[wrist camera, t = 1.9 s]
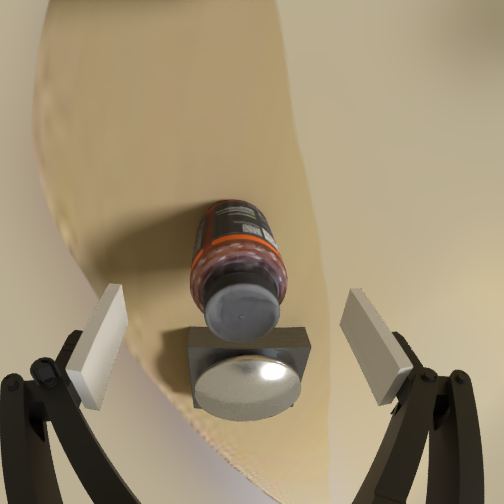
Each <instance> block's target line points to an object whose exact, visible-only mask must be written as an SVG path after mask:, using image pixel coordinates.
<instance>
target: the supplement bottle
mask: <svg viewBox="0 0 504 504" xmlns="http://www.w3.org/2000/svg"><path fill="white" fill-rule="evenodd" d="M190 290H191V294H192V297H193V300H194V302H195V304H196V305H197V307H198V308H199V309H200V311H201V312H202V313H203V314H204V318H205V321H206V324H207V326H208V328H209V329H210V331H212V333H213V334H215V335H216V336H217V337H219V338H221V339H223V340H226V341H229V342H234V343H248V342H252V341H256V340H258V339H261V338H262V337H264V336H266V335H267V334H268V333H269V332H271V331H272V330H273V329H274V327H275V326H276V324H277V323H278V320H279V317H280V304H281V303H282V301H283V299H284V297H285V293H286V290H287V273H286V269H285V266H284V264H283V261H282V258H281V256H280V253H279V251H278V248H277V245H276V243H275V240H274V238H273V235H272V233H271V230H270V227H269V225H268V222H267V221H266V218H265V217H264V215H263V214H262V212H261V211H260V210H259V209H258V208H257V207H255V206H254V205H252V204H250V203H248V202H245V201H242V200H226V201H222V202H220V203H217V204H216V205H214V206H212V207H211V208H210V209H209V210H208V211H207V212H206V213H205V214H204V215H203V217H202V219H201V221H200V224H199V227H198V231H197V237H196V242H195V248H194V254H193V260H192V266H191V274H190Z"/></svg>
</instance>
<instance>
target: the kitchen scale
mask: <svg viewBox="0 0 504 504" xmlns="http://www.w3.org/2000/svg"><path fill="white" fill-rule="evenodd" d="M187 348H188V359H189V369H190V378H191V388H192V396H193V404H194V408H200V409H203V410H205V411H206V412H208V413H209V414H211V415H213V416H216V417H219V418H222V419H226V420H231V421H255V420H261V419H265V418H269V417H272V416H275V415H277V414H279V413H281V412H283V411H285V410H286V409H288V408H289V407H293V405H294V402H295V401H296V400H297V398H298V397H299V395H300V391H301V384H300V383H301V380H302V377H303V373H304V370H305V367H306V363H307V360H308V357H309V353H310V350H311V344H310V341H309V338H308V335H307V332H306V329H305V327H299V328H274V329H273V330H272V331H271V332H269V333H268V334H267V335H266V336H264V337H262V338H261V339H258V340H256V341H252V342H248V343H234V342H229V341H226V340H223V339H221V338H219V337H217V336H216V335H215V334H213V333H212V331H210V329H209V328H208V327H190V329H189V338H188V347H187Z"/></svg>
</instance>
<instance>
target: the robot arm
mask: <svg viewBox="0 0 504 504" xmlns="http://www.w3.org/2000/svg"><path fill="white" fill-rule="evenodd" d="M128 323H129V322H128V318H127V312H126V307H125V302H124V296H123V290H122V284H112V283H109V285H108V286H107V288H106V290H105V292H104V293H103V295H102V297H101V299H100V301H99V302H98V305H97V306H96V308H95V310H94V312H93V314H92V316H91V317H90V319H89V321H88V323H87V325H86V327H85V329H84V331H79V330H74V331H73V332H72V333H71V334H70V335H69V336H68V337H67V339H66V341H65V343H64V345H63V347H62V349H61V351H60V353H59V355H58V356H57V358H56V360H55V361H54V360H53V359H51V358H47V357H44V358H39V359H38V360H36V361H35V362H34V363H33V364H32V365H31V368H30V373H31V375H32V377H33V379H34V380H30V381H24V380H23V378H22V377H21V376H20V375H18V374H16V373H14V374H13V373H12V374H9V375H7V376H6V377H4V379H3V380H2V382H1V390H0V441H1V457H2V467H3V476H4V482H5V489H6V495H7V501H8V504H63V501H62V498H61V494H60V490H59V486H58V483H57V478H56V474H55V470H54V465H53V460H52V456H51V450H50V445H49V438H48V431H47V424H46V421H51V422H52V425H53V427H54V430H55V432H56V434H57V436H58V439H59V441H60V443H61V445H62V447H63V449H64V451H65V453H66V455H67V457H68V459H69V461H70V463H71V465H72V467H73V469H74V470H75V472H76V474H77V476H78V478H79V479H80V481H81V483H82V485H83V486H84V488H85V490H86V491H87V493H88V495H89V496H90V498H91V499H92V501H93V502H94V504H141V503H140V501H139V500H138V499H137V498H136V496H135V495H134V494H133V493H132V491H131V490H130V489H129V487H128V486H127V484H126V483H125V482H124V480H123V479H122V478H121V476H120V475H119V473H118V472H117V470H116V469H115V467H114V466H113V464H112V463H111V461H110V460H109V458H108V457H107V455H106V454H105V452H104V450H103V449H102V447H101V446H100V444H99V442H98V441H97V439H96V438H95V436H94V434H93V432H92V430H91V429H90V427H89V425H88V423H87V421H86V420H85V418H84V416H83V414H82V412H81V410H80V409H79V406H80V403H81V401H82V403H83V405H84V407H85V408H88V409H93V410H98V411H99V410H100V408H101V404H102V401H103V397H104V394H105V391H106V387H107V384H108V381H109V378H110V375H111V372H112V368H113V365H114V362H115V359H116V357H117V354H118V350H119V348H120V345H121V342H122V339H123V336H124V334H125V331H126V328H127V325H128ZM340 326H341V328H342V331H343V333H344V334H345V336H346V339H347V341H348V343H349V345H350V347H351V349H352V351H353V353H354V355H355V357H356V359H357V361H358V363H359V365H360V367H361V369H362V372H363V374H364V376H365V378H366V380H367V382H368V384H369V386H370V388H371V391H372V393H373V395H374V397H375V399H376V401H377V404H378V406H381V405H386V404H390V403H392V401H393V399H394V398H395V397H397V399H398V401H399V402H398V403H397V405H396V406H395V408H394V409H393V411H392V412H391V414H393V415H392V418H391V421H390V423H389V426H388V428H387V431H386V433H385V436H384V438H383V441H382V443H381V445H380V448H379V450H378V452H377V455H376V457H375V459H374V461H373V463H372V465H371V468H370V470H369V472H368V474H367V476H366V478H365V480H364V482H363V484H362V486H361V488H360V490H359V492H358V493H357V495H356V497H355V499H354V501H353V502H352V504H406V499H407V497H408V494H409V491H410V489H411V486H412V483H413V480H414V478H415V475H416V472H417V469H418V466H419V463H420V460H421V456H422V453H423V449H424V446H425V443H426V439H427V435H428V431H429V467H428V484H427V496H426V504H484V469H483V455H482V445H481V436H480V428H479V422H478V416H477V409H476V403H475V398H474V393H473V388H472V383H471V379H470V377H469V376H468V374H466V373H465V372H464V371H462V370H454V371H453V372H452V373H451V375H450V376H449V377H445V376H438V375H437V373H436V372H435V371H434V370H432V369H430V368H426V367H425V368H424V367H423V365H422V364H421V362H420V361H419V359H418V358H417V356H416V355H415V353H414V352H413V350H411V347H410V346H409V345H408V343H407V342H406V340H405V339H404V337H403V336H402V335H400V334H399V333H398V332H391V331H390V329H389V328H388V326H387V325H386V324H385V322H384V320H383V319H382V317H381V316H380V314H379V313H378V312H377V310H376V309H375V307H374V306H373V304H372V303H371V301H370V300H369V299H368V297H367V296H366V294H365V293H364V291H363V290H362V289H361V288H359V289H358V288H356V289H350V291H349V295H348V298H347V302H346V305H345V309H344V312H343V316H342V319H341V322H340Z"/></svg>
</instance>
